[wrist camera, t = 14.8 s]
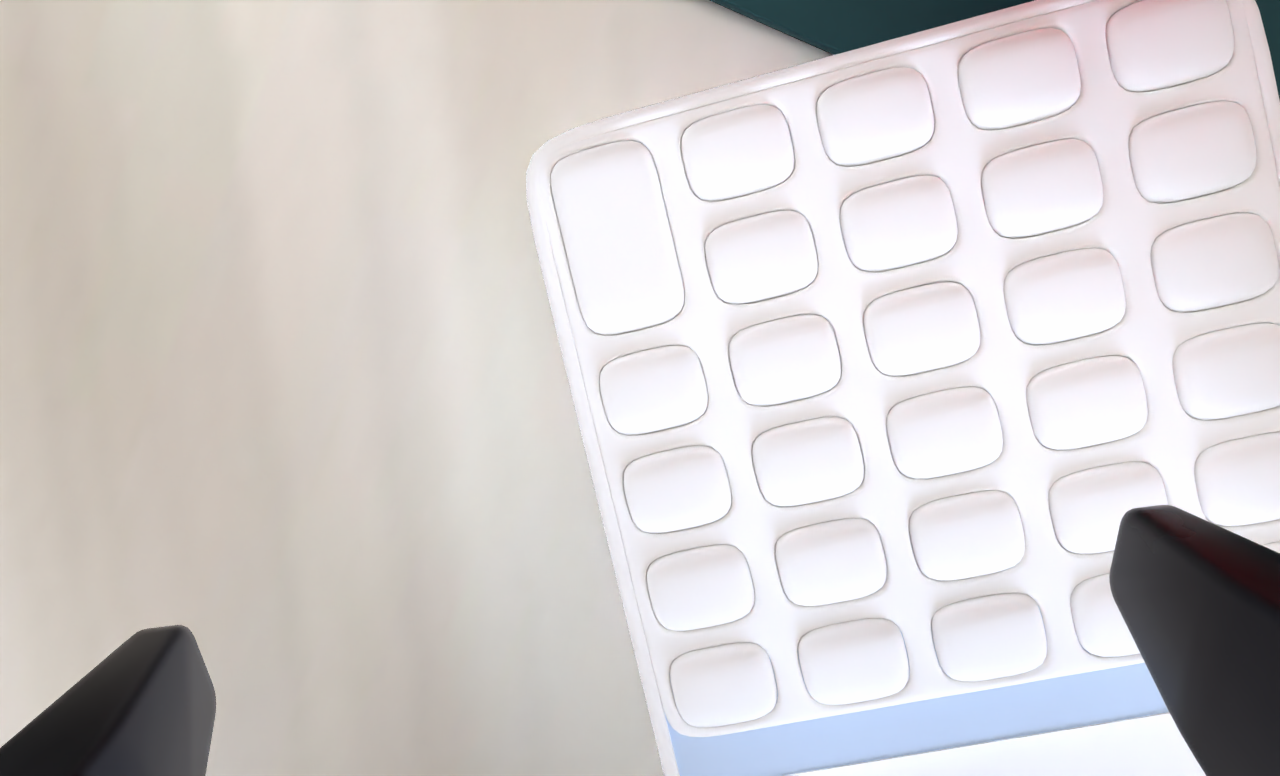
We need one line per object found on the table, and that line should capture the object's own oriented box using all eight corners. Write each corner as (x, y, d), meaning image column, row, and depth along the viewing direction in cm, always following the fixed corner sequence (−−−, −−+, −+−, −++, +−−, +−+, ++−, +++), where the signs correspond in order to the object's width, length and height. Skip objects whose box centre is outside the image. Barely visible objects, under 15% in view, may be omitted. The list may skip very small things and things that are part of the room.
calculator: (1215, -35, 18) (1267, -74, 16) (1414, 985, 19) (1484, 1060, 17) (525, 152, 20) (499, 137, 18) (746, 1065, 21) (744, 1140, 19)
